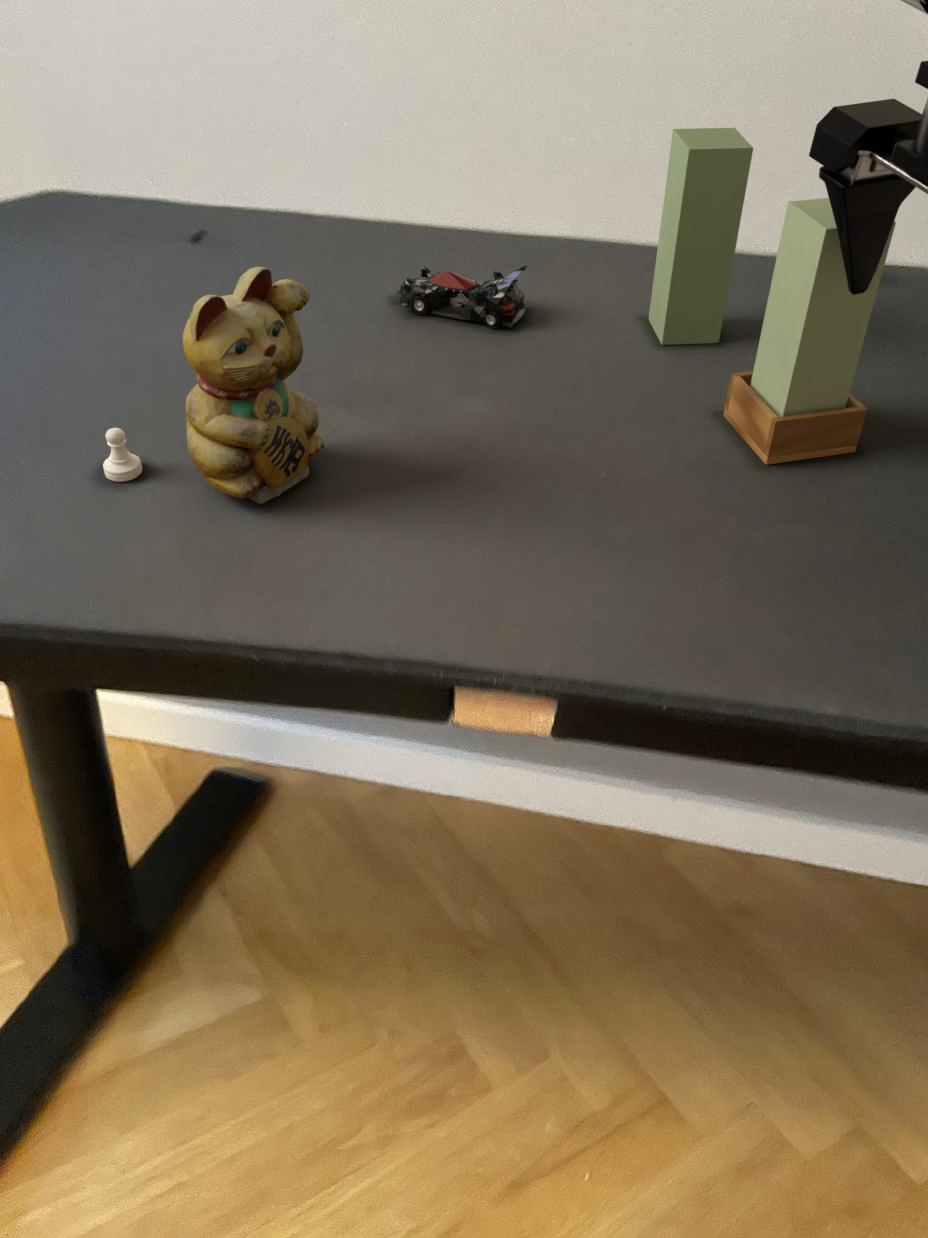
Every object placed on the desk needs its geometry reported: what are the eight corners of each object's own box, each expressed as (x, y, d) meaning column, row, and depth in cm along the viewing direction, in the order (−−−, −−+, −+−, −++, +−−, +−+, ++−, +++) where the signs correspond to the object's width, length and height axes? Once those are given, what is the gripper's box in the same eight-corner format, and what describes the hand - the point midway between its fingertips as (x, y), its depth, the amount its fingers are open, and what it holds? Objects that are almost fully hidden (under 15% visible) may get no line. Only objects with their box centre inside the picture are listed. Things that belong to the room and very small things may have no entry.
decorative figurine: (254, 528, 70) (221, 314, 60) (162, 490, 74) (117, 281, 64) (342, 461, 76) (326, 257, 67) (253, 429, 80) (225, 229, 70)
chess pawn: (127, 458, 77) (117, 415, 74) (150, 471, 75) (140, 428, 73) (97, 473, 75) (86, 430, 73) (120, 486, 74) (109, 443, 72)
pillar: (703, 317, 95) (734, 127, 84) (718, 342, 91) (753, 147, 81) (648, 319, 94) (672, 128, 84) (661, 345, 91) (689, 148, 80)
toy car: (509, 335, 92) (510, 289, 89) (382, 311, 95) (380, 267, 92) (531, 306, 96) (534, 262, 93) (410, 285, 99) (409, 242, 97)
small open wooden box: (855, 452, 78) (868, 408, 76) (765, 465, 77) (775, 421, 74) (807, 404, 83) (817, 362, 81) (722, 415, 82) (730, 373, 80)
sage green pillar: (836, 439, 78) (896, 221, 68) (775, 448, 77) (826, 228, 67) (803, 406, 82) (855, 194, 71) (744, 414, 81) (787, 201, 70)
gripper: (1280, 98, 50) (1122, 385, 61) (1001, -17, 62) (912, 240, 73) (1098, 127, 47) (967, 423, 58) (841, -1, 58) (774, 265, 70)
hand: (903, 328), depth 64 cm, fingers open, 9 cm apart
